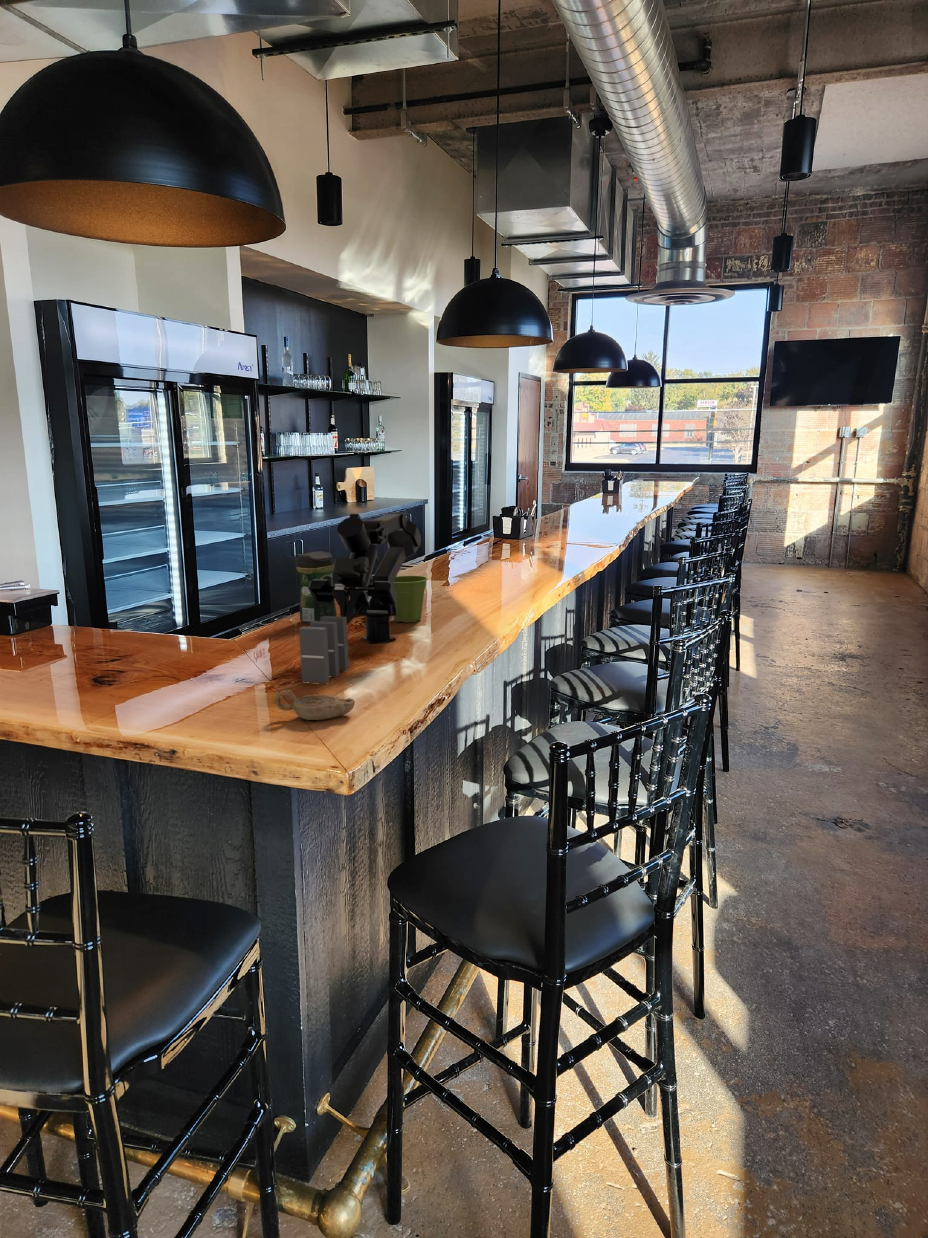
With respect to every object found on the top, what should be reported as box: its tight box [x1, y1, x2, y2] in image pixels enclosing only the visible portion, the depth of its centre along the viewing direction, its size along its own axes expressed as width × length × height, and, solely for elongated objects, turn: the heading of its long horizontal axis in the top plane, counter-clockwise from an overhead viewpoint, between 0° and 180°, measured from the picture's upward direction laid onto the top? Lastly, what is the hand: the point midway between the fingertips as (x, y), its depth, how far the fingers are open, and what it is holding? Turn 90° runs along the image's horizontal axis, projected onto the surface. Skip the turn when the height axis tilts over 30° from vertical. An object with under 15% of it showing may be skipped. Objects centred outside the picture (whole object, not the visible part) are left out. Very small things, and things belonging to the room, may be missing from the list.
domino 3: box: [320, 616, 350, 672], centre depth 162 cm, size 2×5×11 cm, turn 76°
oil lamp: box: [275, 689, 355, 721], centre depth 133 cm, size 13×8×5 cm, turn 91°
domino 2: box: [309, 621, 340, 678], centre depth 158 cm, size 2×5×11 cm, turn 76°
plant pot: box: [392, 575, 429, 624], centre depth 208 cm, size 12×12×11 cm
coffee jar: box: [296, 550, 338, 625], centre depth 208 cm, size 10×8×19 cm
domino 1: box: [298, 625, 331, 685], centre depth 153 cm, size 2×5×11 cm, turn 76°
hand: (343, 624), depth 167 cm, fingers closed
